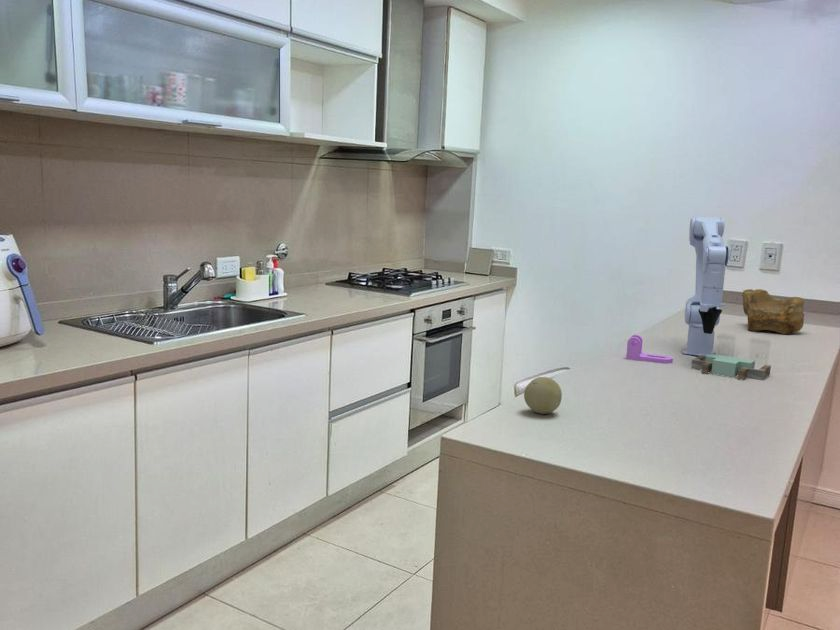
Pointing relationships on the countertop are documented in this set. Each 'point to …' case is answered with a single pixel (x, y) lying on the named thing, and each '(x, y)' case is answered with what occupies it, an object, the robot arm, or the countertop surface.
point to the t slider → (728, 364)
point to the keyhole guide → (742, 373)
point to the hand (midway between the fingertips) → (707, 333)
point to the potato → (543, 395)
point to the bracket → (636, 353)
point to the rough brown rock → (772, 312)
